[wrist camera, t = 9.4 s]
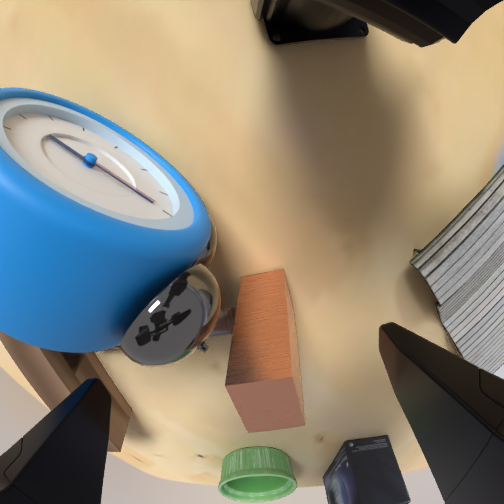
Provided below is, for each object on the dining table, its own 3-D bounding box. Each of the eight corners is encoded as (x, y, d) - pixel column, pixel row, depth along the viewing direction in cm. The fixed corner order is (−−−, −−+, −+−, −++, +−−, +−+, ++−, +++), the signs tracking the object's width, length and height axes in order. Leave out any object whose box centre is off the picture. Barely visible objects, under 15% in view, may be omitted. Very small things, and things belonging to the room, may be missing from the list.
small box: (341, 439, 32) (362, 513, 22) (389, 433, 32) (414, 499, 22) (319, 477, 36) (331, 538, 26) (361, 471, 36) (377, 528, 27)
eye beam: (33, 227, 20) (-9, 256, 15) (131, 409, 28) (120, 451, 23) (2, 239, 20) (-37, 268, 15) (100, 410, 28) (87, 450, 23)
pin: (283, 268, 22) (292, 376, 13) (294, 314, 23) (305, 425, 14) (88, 306, 24) (29, 388, 15) (109, 342, 26) (62, 427, 17)
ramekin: (285, 474, 35) (289, 501, 31) (217, 474, 34) (217, 501, 30) (299, 442, 31) (305, 473, 27) (219, 441, 30) (218, 473, 26)
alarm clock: (57, 83, 16) (236, 203, 21) (19, 161, 17) (184, 270, 23) (-93, 92, 4) (269, 338, 9) (-114, 236, 6) (170, 428, 11)
